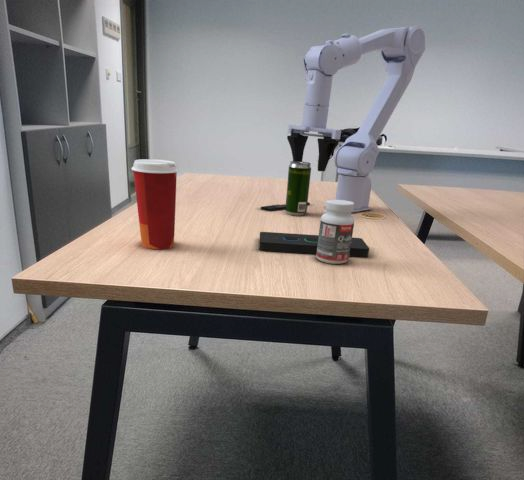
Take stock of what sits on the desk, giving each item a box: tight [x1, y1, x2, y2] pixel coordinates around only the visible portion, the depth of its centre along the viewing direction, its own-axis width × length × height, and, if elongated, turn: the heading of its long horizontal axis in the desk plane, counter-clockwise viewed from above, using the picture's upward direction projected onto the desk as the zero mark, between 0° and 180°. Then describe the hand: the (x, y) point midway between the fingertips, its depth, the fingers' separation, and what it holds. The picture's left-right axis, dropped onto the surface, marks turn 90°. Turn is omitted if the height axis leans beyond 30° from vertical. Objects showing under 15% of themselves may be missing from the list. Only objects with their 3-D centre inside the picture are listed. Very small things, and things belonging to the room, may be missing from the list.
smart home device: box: [258, 231, 370, 258], centre depth 89 cm, size 8×2×20 cm
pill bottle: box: [315, 199, 355, 265], centre depth 81 cm, size 6×6×10 cm
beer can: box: [284, 160, 312, 217], centre depth 115 cm, size 5×5×12 cm
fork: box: [260, 202, 310, 212], centre depth 124 cm, size 17×3×1 cm, turn 136°
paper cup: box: [131, 158, 179, 250], centre depth 81 cm, size 8×8×14 cm
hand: (309, 168), depth 115 cm, fingers open, 7 cm apart
